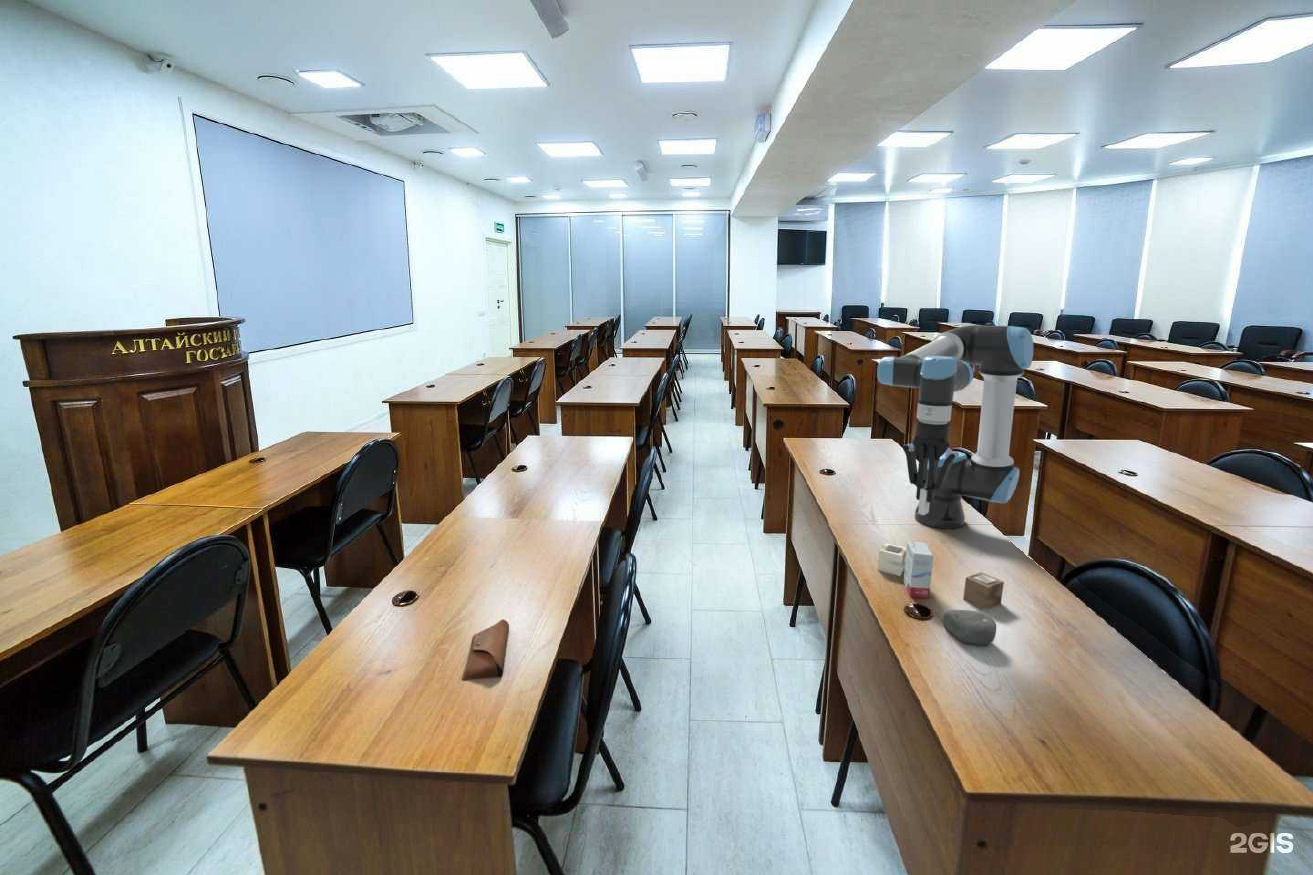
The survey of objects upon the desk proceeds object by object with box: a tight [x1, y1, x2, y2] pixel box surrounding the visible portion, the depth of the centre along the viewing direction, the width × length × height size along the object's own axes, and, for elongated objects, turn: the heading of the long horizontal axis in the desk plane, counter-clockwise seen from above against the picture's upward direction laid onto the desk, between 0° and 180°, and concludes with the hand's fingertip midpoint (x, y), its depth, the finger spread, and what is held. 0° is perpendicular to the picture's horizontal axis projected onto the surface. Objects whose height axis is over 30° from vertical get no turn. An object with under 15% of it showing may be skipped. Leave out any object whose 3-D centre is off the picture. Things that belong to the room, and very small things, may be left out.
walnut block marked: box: [963, 571, 1005, 610], centre depth 153 cm, size 6×6×6 cm
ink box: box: [903, 540, 934, 599], centre depth 158 cm, size 9×5×12 cm, turn 168°
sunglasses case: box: [461, 619, 510, 681], centre depth 134 cm, size 18×7×7 cm, turn 10°
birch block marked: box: [877, 542, 907, 577], centre depth 171 cm, size 6×6×6 cm
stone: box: [942, 609, 997, 647], centre depth 138 cm, size 9×9×10 cm
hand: (923, 513), depth 154 cm, fingers closed
